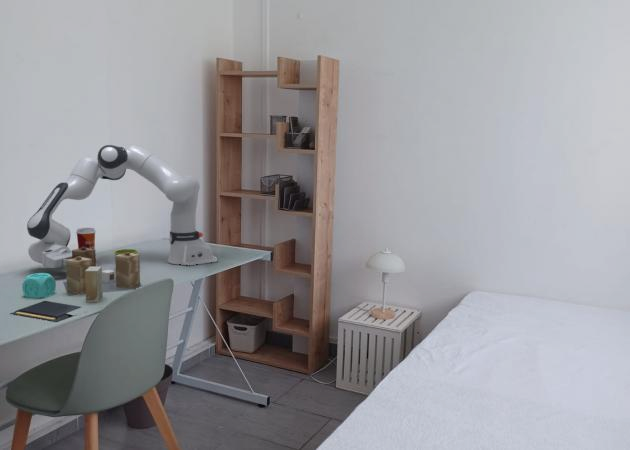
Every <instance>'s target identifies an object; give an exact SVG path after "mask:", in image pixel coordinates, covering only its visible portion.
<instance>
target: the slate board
mask: <svg viewBox="0 0 630 450" xmlns="http://www.w3.org/2000/svg"><path fill="white" fill-rule="evenodd" d="M62 283H63V285H64V289H65V292H66V294H67V297H72V296H73V297H74V296H82V295H86V293H83V294H80V295H79V294H74V293H70V292H67V281H63V282H62ZM141 286H143V284H142V283H141V282H140V285H138V286H135V287H132V288H129V289H127V288H123V287H118V286H116V281H114V282H110V283H105V282H102V291H103V293H112V292H122V291H123V292H124V291H132V290H137V289H136V288H139V287H141Z"/></svg>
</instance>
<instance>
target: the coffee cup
mask: <svg viewBox="0 0 630 450" xmlns="http://www.w3.org/2000/svg"><path fill="white" fill-rule="evenodd" d="M96 232H97V231H96V230H95V228H94V227H80V228H77V229H76V232H75V233H76V239H77V247H78V248H77V249H80V248H81V247H86V248H90V249H95V248H96V245H95V244H96V243H95V241H96ZM95 250H96V249H95Z"/></svg>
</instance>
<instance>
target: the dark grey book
mask: <svg viewBox="0 0 630 450" xmlns="http://www.w3.org/2000/svg"><path fill="white" fill-rule="evenodd" d="M81 308H82V306H78V305H72V304H68V303H61V302H55V301H51V300H50V301H49V300H43V301H39V302H37V303H34V304H31V305H27V306H25V307H23V308H19V309H17V310H15V311H13V312H10V313H9V315H12V314H13V316H18V315H19V316H18V317H24V318H30V319H35V318H36V319H35V320H40V319H41V321H46V320H47V321H48V322H51V323H52V322H53V323H59V322H61V321H65V320H67V319H69V318H71V317H74V316H76V314H69V313H70V312H73V311H75V310H78V309H81Z"/></svg>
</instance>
